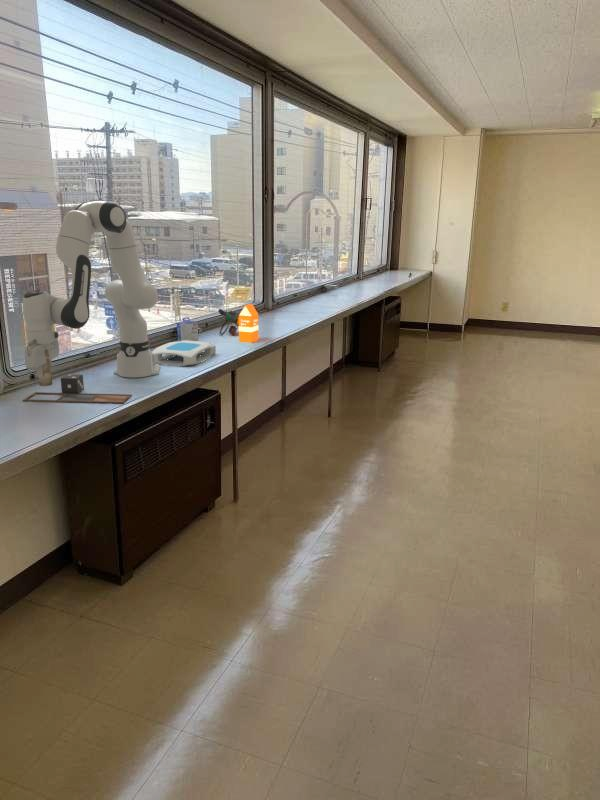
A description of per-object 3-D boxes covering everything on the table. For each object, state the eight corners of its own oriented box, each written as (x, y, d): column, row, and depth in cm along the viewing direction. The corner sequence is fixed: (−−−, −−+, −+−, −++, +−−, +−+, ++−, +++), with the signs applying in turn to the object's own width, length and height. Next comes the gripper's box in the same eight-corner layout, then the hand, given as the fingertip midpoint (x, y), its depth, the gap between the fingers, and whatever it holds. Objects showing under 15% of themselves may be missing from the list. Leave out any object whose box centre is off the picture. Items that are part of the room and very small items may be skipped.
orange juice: (238, 342, 320) (238, 304, 314) (245, 339, 328) (245, 302, 322) (251, 343, 318) (251, 305, 312) (258, 340, 326) (258, 303, 320)
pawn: (42, 382, 218) (37, 346, 214) (55, 382, 218) (50, 346, 214) (36, 386, 213) (31, 349, 209) (49, 386, 213) (45, 349, 209)
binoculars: (232, 343, 334) (245, 320, 332) (210, 330, 329) (223, 307, 327) (228, 338, 347) (241, 315, 345) (208, 326, 342) (221, 303, 340)
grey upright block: (194, 343, 314) (193, 316, 310) (199, 345, 310) (198, 317, 305) (177, 345, 308) (176, 317, 304) (181, 347, 304) (180, 319, 300)
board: (35, 393, 222) (35, 392, 221) (131, 395, 221) (131, 394, 221) (22, 401, 212) (22, 400, 212) (123, 403, 212) (123, 402, 211)
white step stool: (149, 364, 270) (148, 350, 268) (177, 351, 296) (176, 339, 294) (191, 367, 265) (191, 354, 263) (216, 354, 291) (216, 342, 289)
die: (68, 389, 228) (67, 373, 226) (84, 389, 228) (82, 374, 226) (62, 393, 222) (60, 378, 221) (78, 394, 222) (76, 378, 220)
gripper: (35, 343, 200) (40, 383, 205) (60, 331, 220) (64, 367, 224) (17, 343, 200) (22, 382, 205) (43, 331, 220) (48, 367, 224)
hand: (44, 374), depth 215 cm, fingers closed on pawn, 4 cm apart
